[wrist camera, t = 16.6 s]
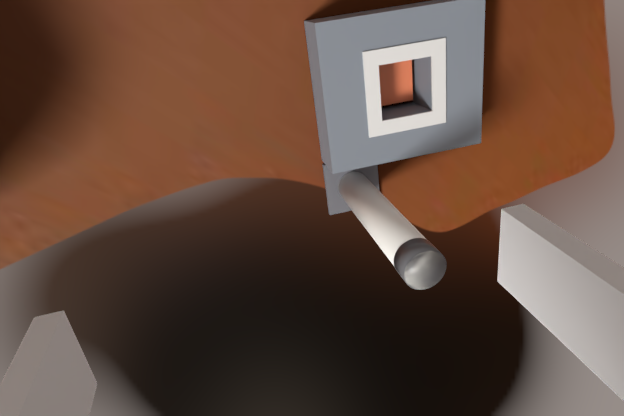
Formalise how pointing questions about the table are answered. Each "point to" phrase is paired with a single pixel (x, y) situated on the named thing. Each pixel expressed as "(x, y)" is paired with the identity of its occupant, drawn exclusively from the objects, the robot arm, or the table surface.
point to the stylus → (393, 233)
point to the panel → (425, 77)
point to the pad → (332, 180)
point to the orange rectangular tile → (396, 82)
